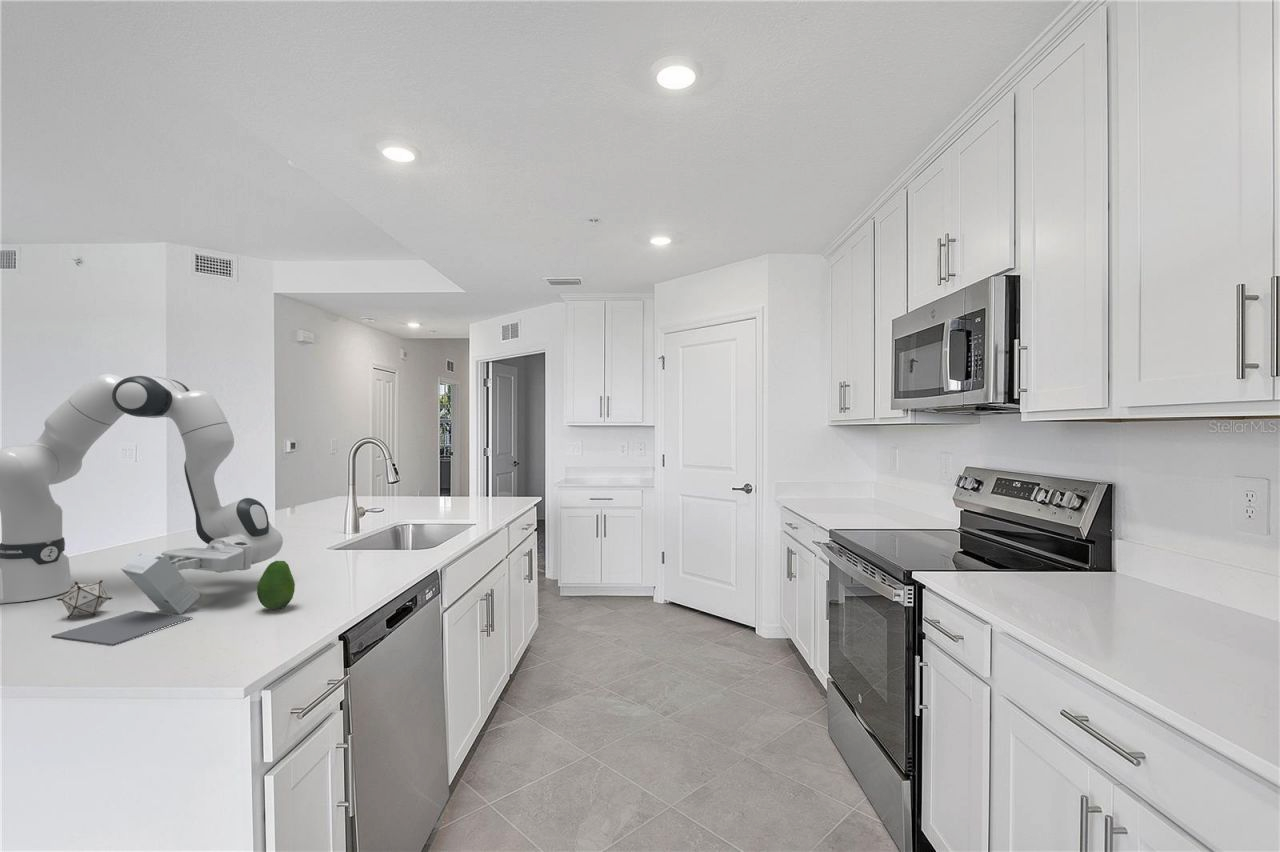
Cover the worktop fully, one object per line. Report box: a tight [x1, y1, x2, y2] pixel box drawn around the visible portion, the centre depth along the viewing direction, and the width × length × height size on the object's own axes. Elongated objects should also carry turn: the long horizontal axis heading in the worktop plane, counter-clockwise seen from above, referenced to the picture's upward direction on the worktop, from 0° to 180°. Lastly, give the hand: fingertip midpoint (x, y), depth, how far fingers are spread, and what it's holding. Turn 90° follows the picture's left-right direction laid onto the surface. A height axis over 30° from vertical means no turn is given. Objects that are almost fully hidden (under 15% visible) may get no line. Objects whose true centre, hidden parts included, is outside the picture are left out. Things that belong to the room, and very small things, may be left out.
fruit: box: [256, 560, 296, 611], centre depth 147 cm, size 8×8×12 cm
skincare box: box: [120, 550, 201, 615], centre depth 141 cm, size 8×6×15 cm
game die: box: [56, 579, 114, 619], centre depth 140 cm, size 9×8×10 cm
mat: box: [51, 610, 193, 647], centre depth 133 cm, size 17×17×1 cm
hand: (171, 566), depth 143 cm, fingers closed
